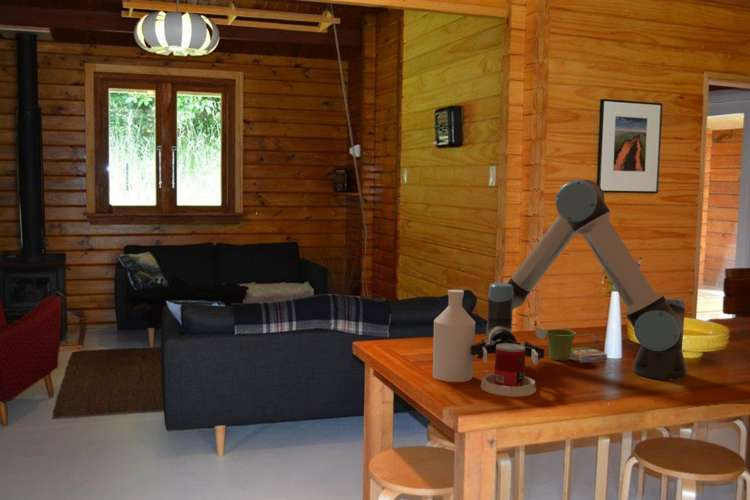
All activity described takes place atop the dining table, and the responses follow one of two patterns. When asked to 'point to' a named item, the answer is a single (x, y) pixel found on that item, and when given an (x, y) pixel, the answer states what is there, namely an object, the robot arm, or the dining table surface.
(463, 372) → the bottle
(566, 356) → the plant pot
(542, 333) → the eyeglasses
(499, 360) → the canned food
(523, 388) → the dish
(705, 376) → the dining table surface
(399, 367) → the dining table surface
